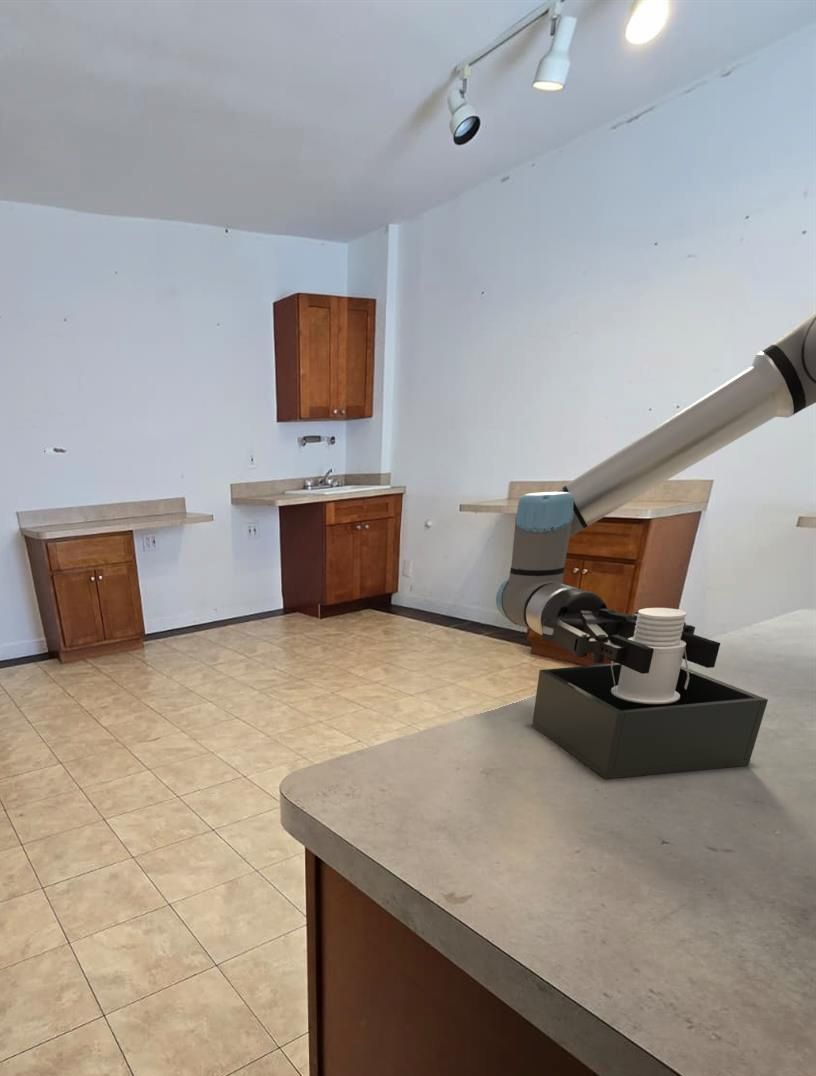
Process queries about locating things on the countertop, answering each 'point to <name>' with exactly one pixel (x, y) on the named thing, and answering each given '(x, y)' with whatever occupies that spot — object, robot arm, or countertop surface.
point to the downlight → (655, 658)
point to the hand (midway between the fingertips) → (680, 658)
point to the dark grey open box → (646, 723)
